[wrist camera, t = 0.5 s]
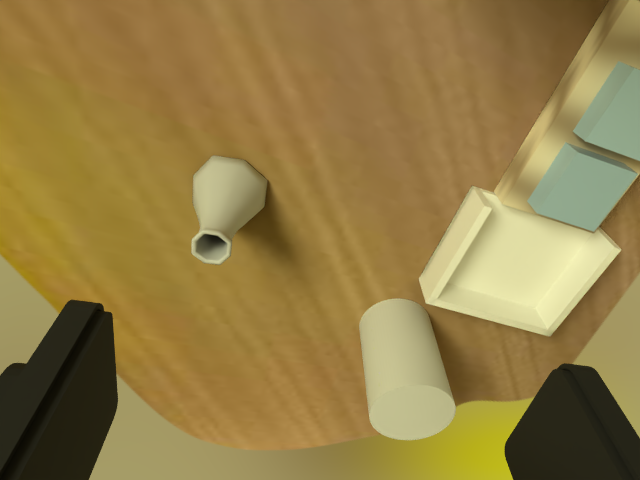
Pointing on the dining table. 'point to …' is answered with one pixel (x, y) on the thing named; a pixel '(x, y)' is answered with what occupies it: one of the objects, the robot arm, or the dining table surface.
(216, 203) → the flask
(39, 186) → the dining table surface
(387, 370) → the grey cylinder
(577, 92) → the board
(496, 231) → the tray
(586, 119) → the tile
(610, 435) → the robot arm
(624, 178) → the tile
